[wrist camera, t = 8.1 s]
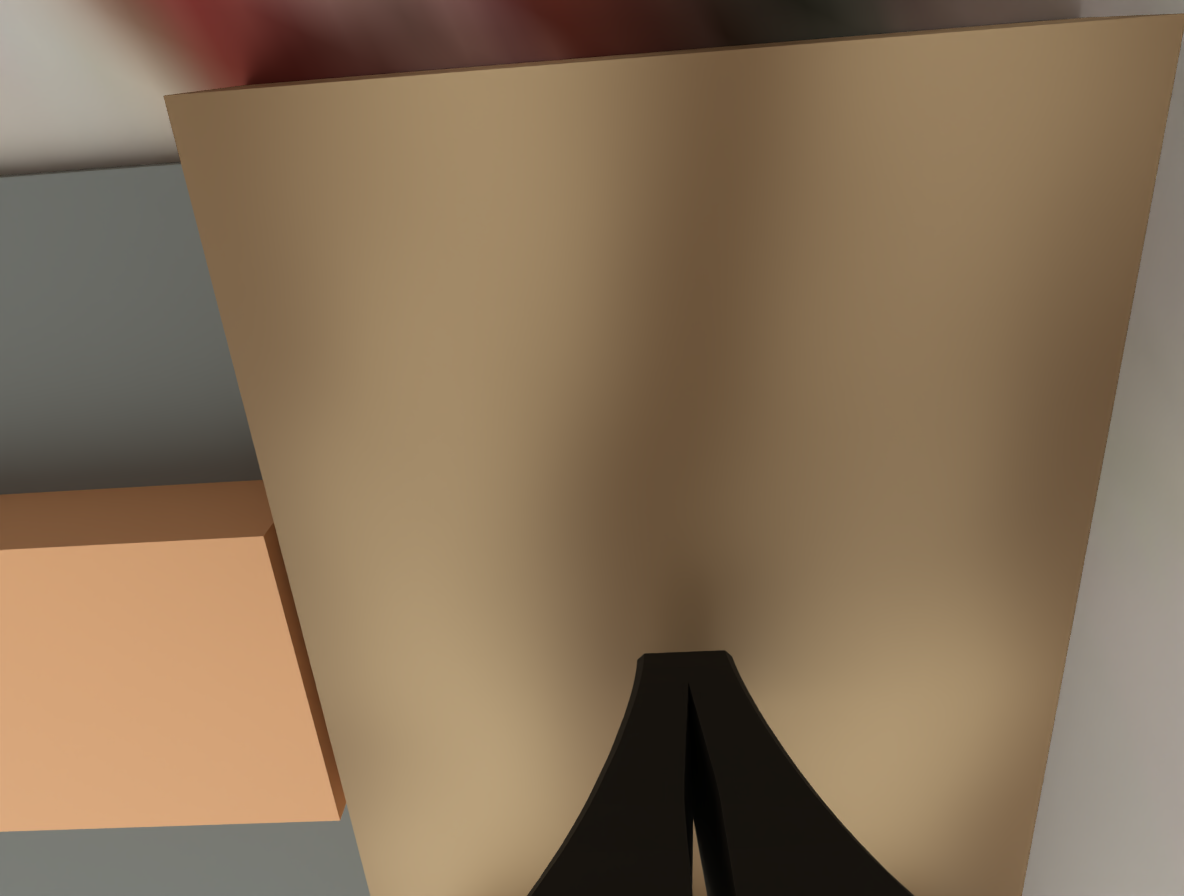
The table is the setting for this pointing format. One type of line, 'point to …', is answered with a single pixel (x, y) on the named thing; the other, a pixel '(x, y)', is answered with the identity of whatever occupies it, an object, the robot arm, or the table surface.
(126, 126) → the table surface
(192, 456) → the mat
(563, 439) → the deck
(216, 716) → the orange rectangular block
